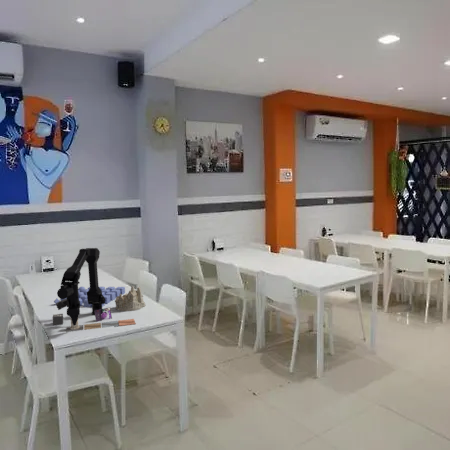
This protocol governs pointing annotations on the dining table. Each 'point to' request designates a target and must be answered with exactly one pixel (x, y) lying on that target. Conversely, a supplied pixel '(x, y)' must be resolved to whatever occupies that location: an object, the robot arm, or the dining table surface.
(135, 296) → the sand castle
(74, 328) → the pawn
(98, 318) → the game card
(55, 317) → the die
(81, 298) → the blocks
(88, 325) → the game board
